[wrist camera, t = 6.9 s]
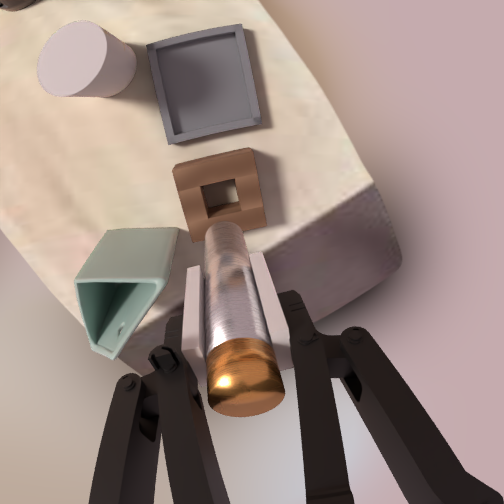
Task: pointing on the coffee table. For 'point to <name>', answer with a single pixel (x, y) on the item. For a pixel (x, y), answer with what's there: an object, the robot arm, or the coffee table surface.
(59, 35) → the white cylinder
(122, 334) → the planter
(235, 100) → the tray
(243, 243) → the pin
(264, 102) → the coffee table surface
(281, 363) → the robot arm
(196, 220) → the block
